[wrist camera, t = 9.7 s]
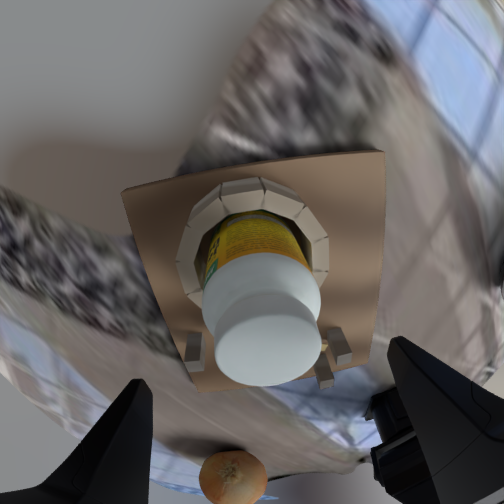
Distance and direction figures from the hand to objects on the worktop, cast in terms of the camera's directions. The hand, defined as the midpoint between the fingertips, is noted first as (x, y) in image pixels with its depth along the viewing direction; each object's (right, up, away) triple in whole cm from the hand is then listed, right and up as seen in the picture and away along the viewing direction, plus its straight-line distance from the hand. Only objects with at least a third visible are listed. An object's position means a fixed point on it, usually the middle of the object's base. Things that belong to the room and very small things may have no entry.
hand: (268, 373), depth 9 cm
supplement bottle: (-1, +5, +10) cm, 11 cm away
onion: (-4, -26, +26) cm, 37 cm away
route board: (+1, +1, +13) cm, 13 cm away
